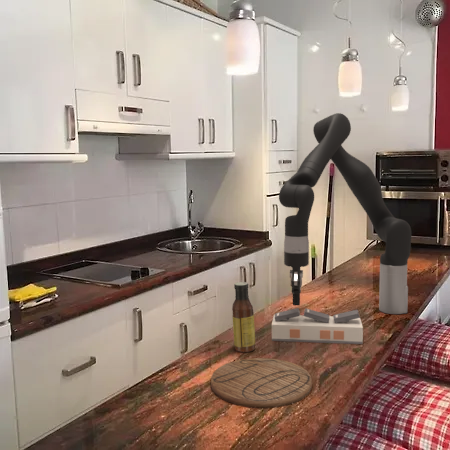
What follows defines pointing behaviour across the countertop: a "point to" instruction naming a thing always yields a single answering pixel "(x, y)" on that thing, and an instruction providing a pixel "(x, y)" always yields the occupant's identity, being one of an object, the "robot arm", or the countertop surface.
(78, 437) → the countertop surface
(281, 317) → the far rocker
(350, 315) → the plate
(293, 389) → the trivet
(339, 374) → the countertop surface
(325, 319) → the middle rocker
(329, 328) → the switch console
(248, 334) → the sauce bottle
